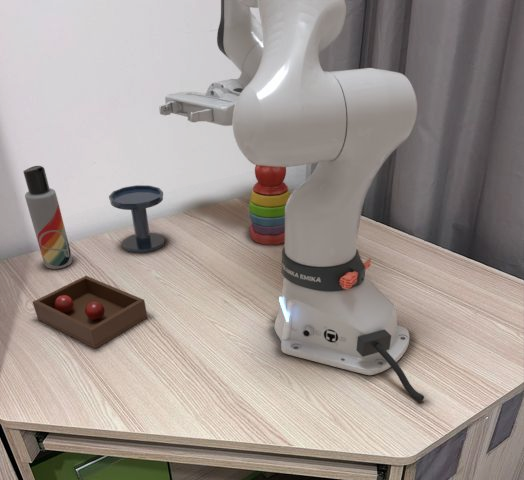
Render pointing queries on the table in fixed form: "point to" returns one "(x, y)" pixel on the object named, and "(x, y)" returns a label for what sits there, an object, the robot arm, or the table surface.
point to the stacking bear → (268, 205)
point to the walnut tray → (76, 322)
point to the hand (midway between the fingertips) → (175, 114)
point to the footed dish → (139, 215)
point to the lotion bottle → (47, 219)
